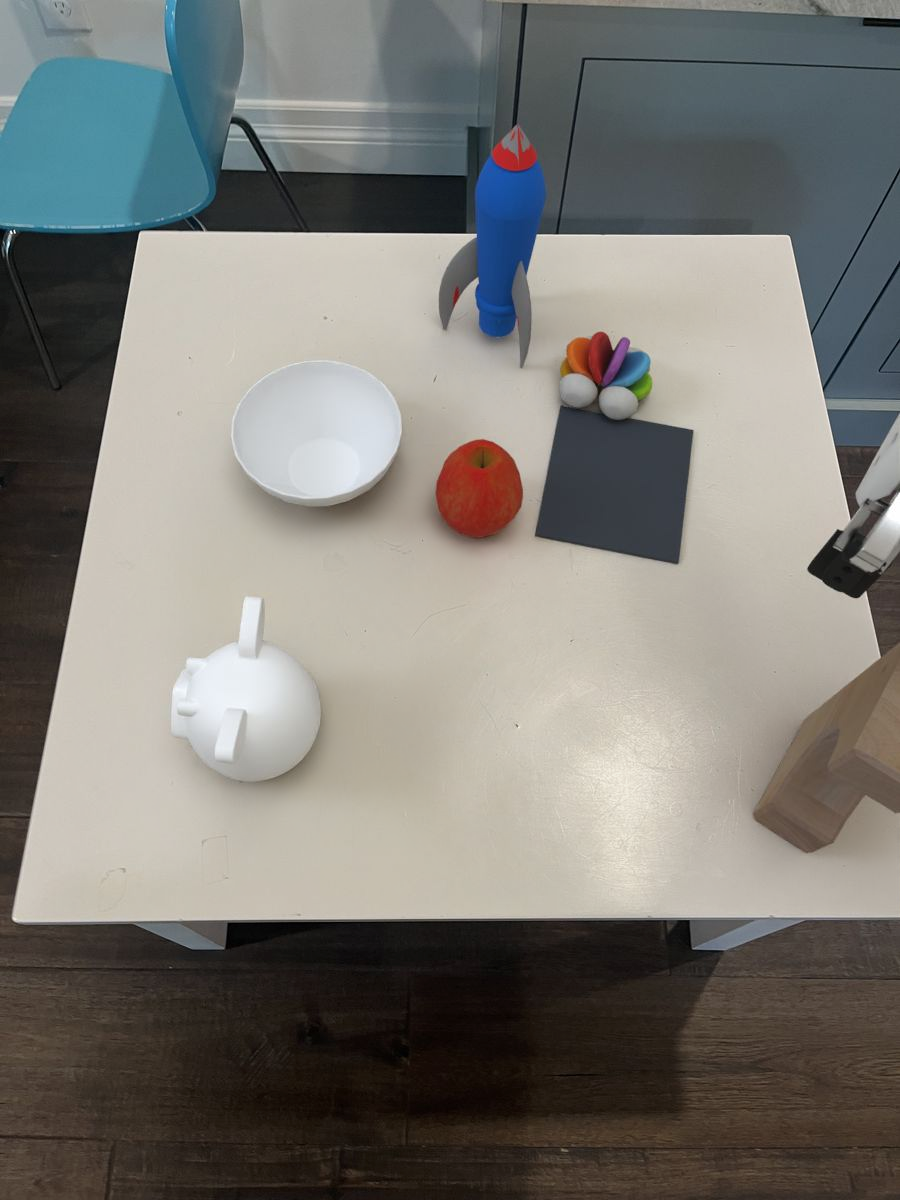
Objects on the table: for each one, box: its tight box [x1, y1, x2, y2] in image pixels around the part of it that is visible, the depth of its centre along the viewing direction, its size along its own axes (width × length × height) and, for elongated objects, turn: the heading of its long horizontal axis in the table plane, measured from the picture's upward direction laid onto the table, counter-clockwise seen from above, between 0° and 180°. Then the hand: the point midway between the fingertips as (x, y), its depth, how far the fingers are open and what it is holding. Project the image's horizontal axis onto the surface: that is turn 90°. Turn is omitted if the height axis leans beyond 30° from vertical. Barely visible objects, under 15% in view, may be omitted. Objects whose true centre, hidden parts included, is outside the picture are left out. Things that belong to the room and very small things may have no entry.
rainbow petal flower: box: [559, 331, 653, 420], centre depth 90 cm, size 8×10×7 cm
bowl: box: [230, 359, 403, 508], centre depth 85 cm, size 16×16×7 cm
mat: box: [534, 404, 694, 565], centre depth 88 cm, size 14×16×1 cm
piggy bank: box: [170, 595, 322, 782], centre depth 69 cm, size 12×12×15 cm
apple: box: [435, 438, 524, 538], centre depth 81 cm, size 8×8×11 cm
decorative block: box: [752, 642, 900, 854], centre depth 66 cm, size 11×6×20 cm, turn 144°
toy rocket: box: [438, 123, 547, 369], centre depth 85 cm, size 11×10×25 cm
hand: (868, 522), depth 52 cm, fingers open, 9 cm apart
